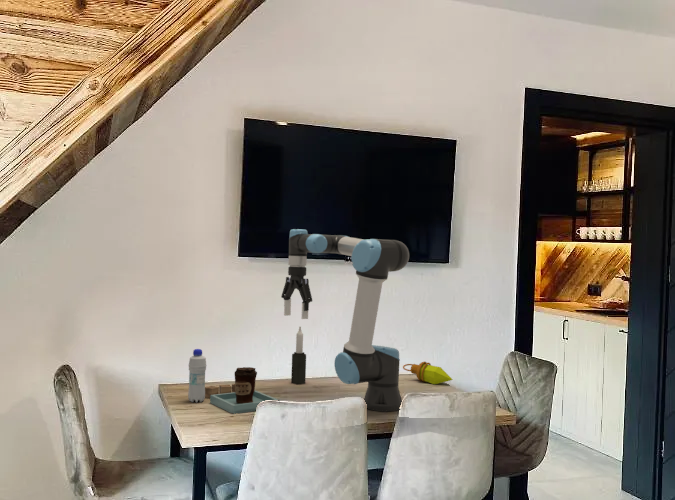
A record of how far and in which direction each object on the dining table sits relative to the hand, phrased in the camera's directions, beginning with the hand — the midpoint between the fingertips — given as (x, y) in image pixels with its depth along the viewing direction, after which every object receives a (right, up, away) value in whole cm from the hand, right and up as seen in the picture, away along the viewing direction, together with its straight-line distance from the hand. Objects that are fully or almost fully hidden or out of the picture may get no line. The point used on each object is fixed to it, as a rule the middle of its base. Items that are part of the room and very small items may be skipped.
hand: (295, 317), depth 281 cm
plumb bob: (+59, -33, +27) cm, 72 cm away
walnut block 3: (-22, -30, -9) cm, 39 cm away
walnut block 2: (-27, -30, -13) cm, 43 cm away
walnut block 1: (-32, -30, -16) cm, 47 cm away
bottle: (-36, -30, -24) cm, 53 cm away
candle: (0, -31, +16) cm, 35 cm away
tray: (-18, -30, -28) cm, 45 cm away
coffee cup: (-17, -30, -28) cm, 44 cm away
